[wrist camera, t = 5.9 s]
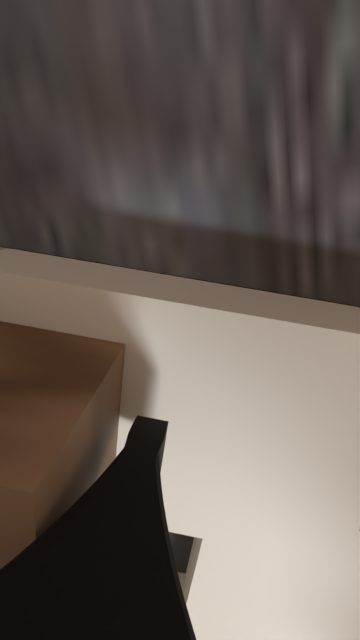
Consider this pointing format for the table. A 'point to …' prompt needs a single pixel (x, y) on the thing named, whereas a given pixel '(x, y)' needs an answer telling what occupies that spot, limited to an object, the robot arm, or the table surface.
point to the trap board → (230, 434)
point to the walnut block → (52, 426)
